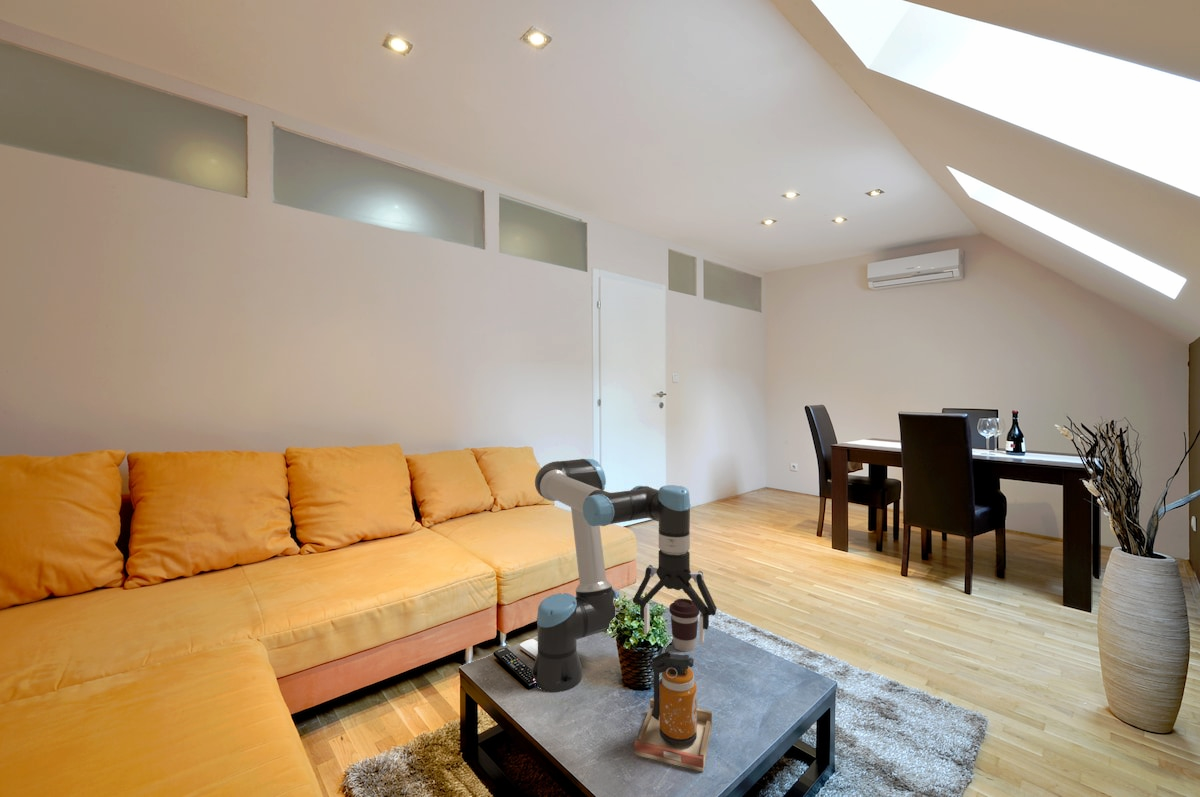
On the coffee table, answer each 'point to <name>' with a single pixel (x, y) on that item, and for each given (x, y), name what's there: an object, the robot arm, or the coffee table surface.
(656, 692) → the canister
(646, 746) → the wooden serving tray
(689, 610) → the coffee cup
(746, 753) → the coffee table surface
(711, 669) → the coffee table surface
